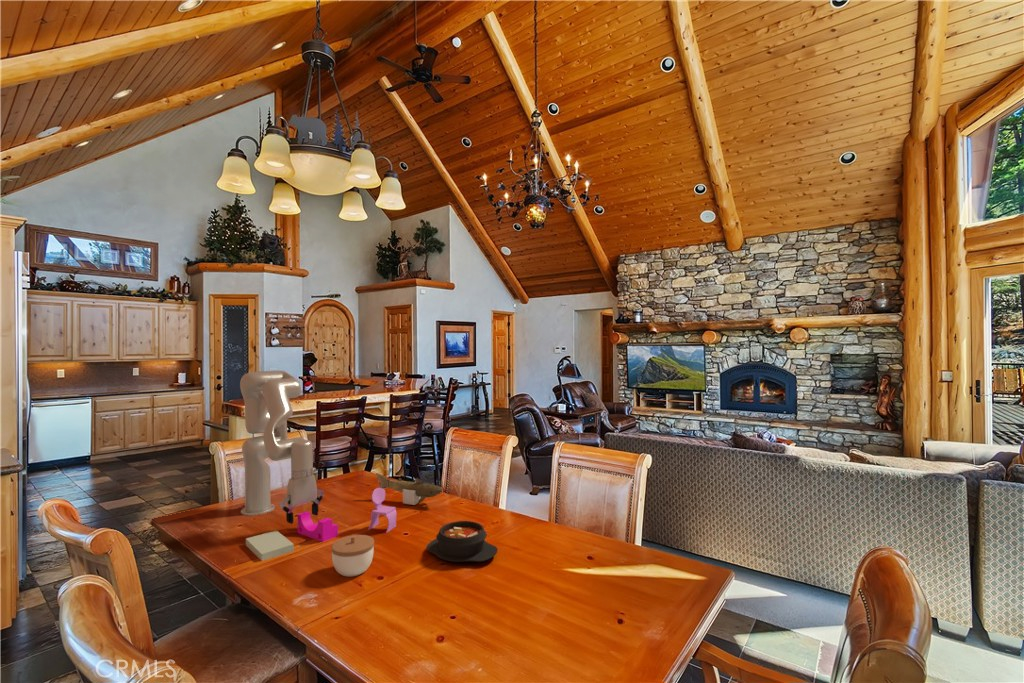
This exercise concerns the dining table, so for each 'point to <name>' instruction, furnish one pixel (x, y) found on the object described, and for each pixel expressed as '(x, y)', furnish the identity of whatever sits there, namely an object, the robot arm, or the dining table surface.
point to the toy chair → (382, 510)
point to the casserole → (462, 543)
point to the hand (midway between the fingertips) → (302, 518)
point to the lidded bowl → (352, 554)
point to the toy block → (316, 527)
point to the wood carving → (410, 489)
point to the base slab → (269, 545)
